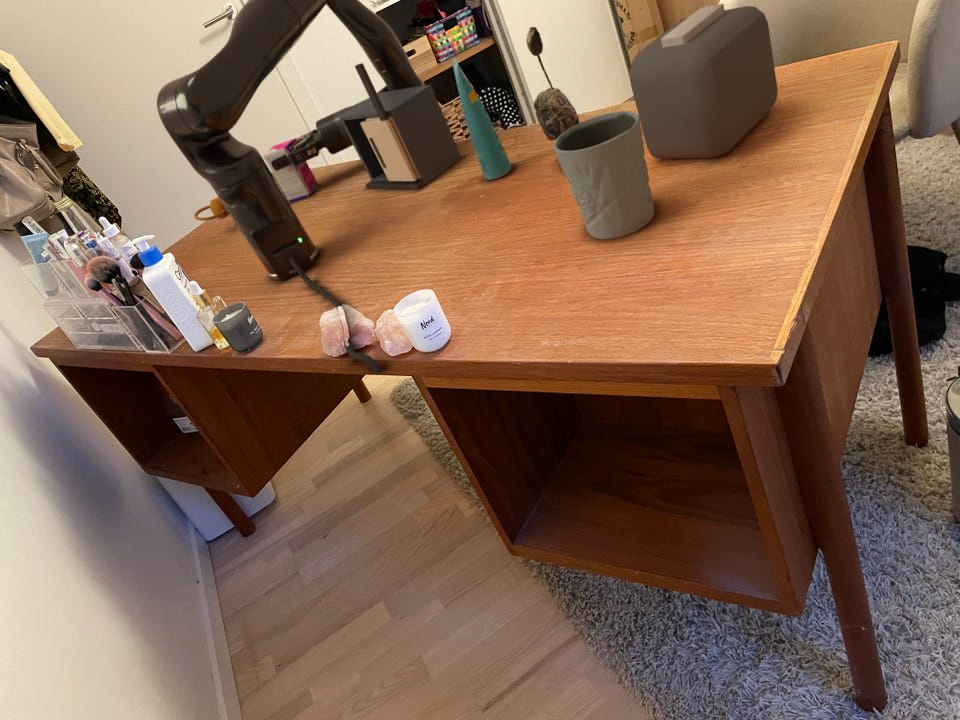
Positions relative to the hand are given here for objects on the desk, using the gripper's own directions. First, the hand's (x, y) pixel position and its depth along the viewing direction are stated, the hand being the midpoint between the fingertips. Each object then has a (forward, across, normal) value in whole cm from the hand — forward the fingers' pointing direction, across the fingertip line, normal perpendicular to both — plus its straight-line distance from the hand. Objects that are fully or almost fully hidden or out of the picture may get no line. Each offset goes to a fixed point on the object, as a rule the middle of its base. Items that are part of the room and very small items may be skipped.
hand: (275, 161), depth 148 cm
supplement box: (-2, 0, +9) cm, 9 cm away
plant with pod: (-54, +50, +9) cm, 74 cm away
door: (-25, +26, +8) cm, 37 cm away
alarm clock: (-70, +64, +9) cm, 96 cm away
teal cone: (-42, +41, +9) cm, 59 cm away
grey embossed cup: (-52, +75, +9) cm, 92 cm away
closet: (-28, +20, +9) cm, 35 cm away
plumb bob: (+11, -3, +9) cm, 15 cm away
